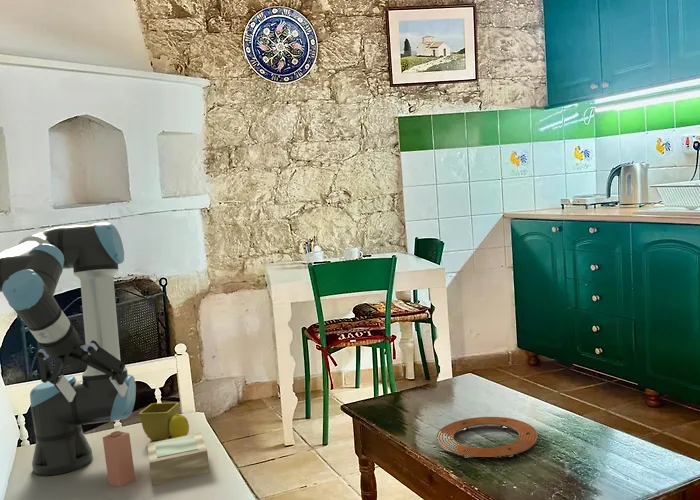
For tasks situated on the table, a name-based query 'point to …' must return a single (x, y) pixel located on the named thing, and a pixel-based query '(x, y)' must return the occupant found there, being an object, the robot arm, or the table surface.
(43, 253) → the robot arm
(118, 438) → the pink knobbed block
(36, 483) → the table surface
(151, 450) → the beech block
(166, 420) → the flower pot
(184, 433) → the lemon
